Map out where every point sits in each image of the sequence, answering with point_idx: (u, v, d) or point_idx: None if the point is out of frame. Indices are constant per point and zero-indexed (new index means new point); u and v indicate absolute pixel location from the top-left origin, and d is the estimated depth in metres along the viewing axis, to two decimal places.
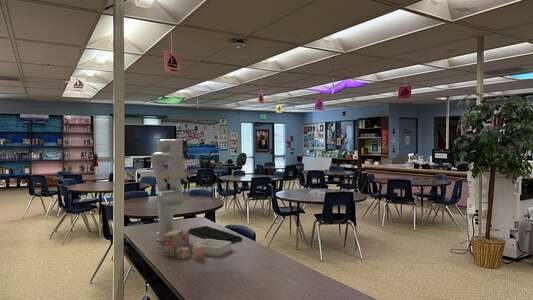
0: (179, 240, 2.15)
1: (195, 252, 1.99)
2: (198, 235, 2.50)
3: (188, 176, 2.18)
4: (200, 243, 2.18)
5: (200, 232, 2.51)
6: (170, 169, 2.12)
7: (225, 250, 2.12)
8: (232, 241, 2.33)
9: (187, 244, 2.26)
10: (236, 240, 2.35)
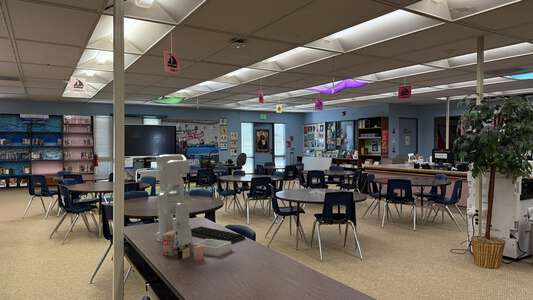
0: None
1: (195, 252, 1.99)
2: (198, 236, 2.48)
3: None
4: (200, 243, 2.18)
5: (200, 233, 2.49)
6: None
7: (225, 250, 2.12)
8: (237, 240, 2.36)
9: None
10: (240, 239, 2.38)
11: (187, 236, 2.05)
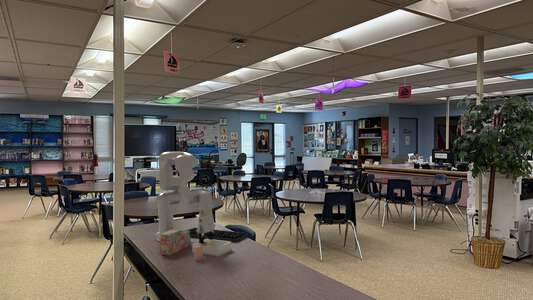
0: (177, 240, 2.16)
1: (195, 252, 1.99)
2: (198, 237, 2.46)
3: None
4: None
5: None
6: None
7: (225, 250, 2.12)
8: (242, 238, 2.41)
9: (187, 244, 2.26)
10: (244, 236, 2.43)
11: (210, 223, 2.16)
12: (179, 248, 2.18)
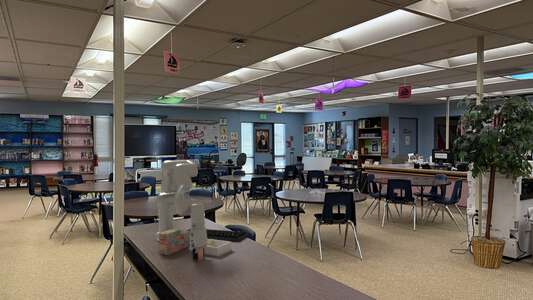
0: (175, 239, 2.17)
1: None
2: None
3: None
4: None
5: None
6: None
7: (225, 250, 2.12)
8: (243, 237, 2.42)
9: (187, 244, 2.27)
10: (245, 236, 2.45)
11: (203, 238, 2.00)
12: (178, 248, 2.19)
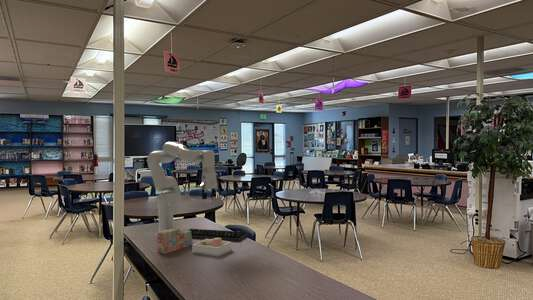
0: (173, 239, 2.18)
1: (214, 244, 2.11)
2: (198, 237, 2.44)
3: None
4: None
5: (200, 234, 2.45)
6: None
7: (225, 250, 2.12)
8: (243, 237, 2.43)
9: (188, 243, 2.27)
10: (245, 236, 2.46)
11: (213, 181, 2.24)
12: (177, 247, 2.20)
